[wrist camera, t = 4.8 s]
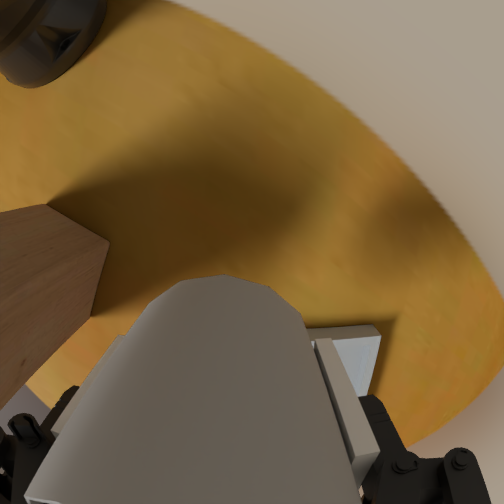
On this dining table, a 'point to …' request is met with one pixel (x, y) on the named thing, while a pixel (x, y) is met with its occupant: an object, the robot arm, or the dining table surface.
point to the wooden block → (42, 288)
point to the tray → (353, 351)
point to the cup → (204, 410)
